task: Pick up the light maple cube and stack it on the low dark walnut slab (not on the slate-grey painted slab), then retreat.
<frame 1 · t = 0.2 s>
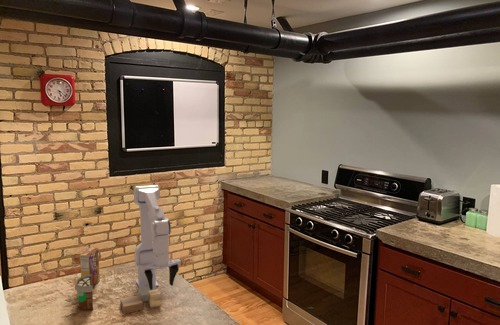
hand: (161, 286, 141), 10 cm above the counter, fingers open, 7 cm apart
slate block: (148, 297, 154), on the counter
maple cube: (154, 304, 147), on the counter
walnut block: (131, 308, 145), on the counter
candy box: (90, 285, 163), on the counter
food container: (84, 306, 145), on the counter
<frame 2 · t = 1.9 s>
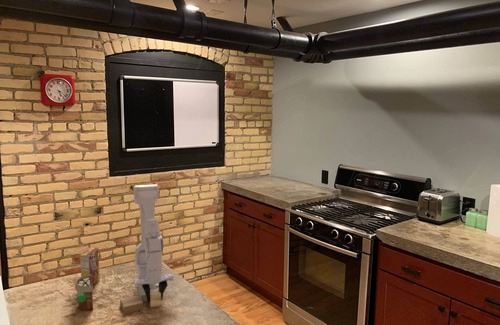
hand: (154, 300, 147), 1 cm above the counter, fingers closed on maple cube, 4 cm apart
maple cube: (154, 304, 147), on the counter, touching gripper
everything else where it was.
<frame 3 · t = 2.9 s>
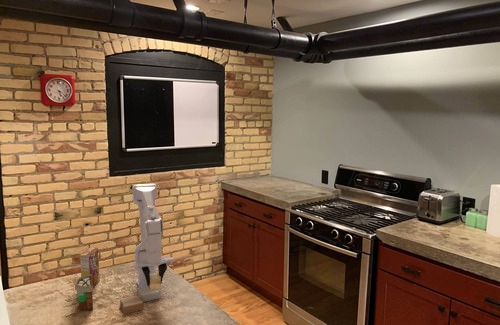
hand: (154, 283, 146), 8 cm above the counter, fingers closed on maple cube, 4 cm apart
maple cube: (154, 287, 146), point 7 cm above the counter, touching gripper
everything else where it was.
when the fingers open (6 cm above the counter, at t = 4.3 s): maple cube drops 1 cm, point 3 cm above the counter.
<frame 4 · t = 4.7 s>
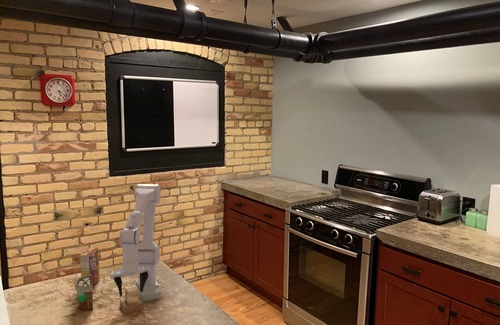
hand: (131, 293, 144), 6 cm above the counter, fingers open, 7 cm apart
maple cube: (131, 300, 144), point 3 cm above the counter
everything else where it was.
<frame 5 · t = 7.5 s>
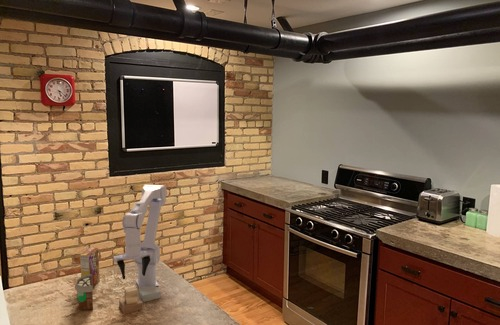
hand: (133, 276, 149), 10 cm above the counter, fingers open, 7 cm apart
maple cube: (131, 301, 144), point 3 cm above the counter, touching walnut block
walnut block: (130, 308, 145), on the counter, touching maple cube
everything else where it was.
at the end: maple cube 0.2 cm off-centre on the walnut block, point 3.0 cm above the walnut block's base; maple cube tilted 0°; the gripper is holding nothing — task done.
